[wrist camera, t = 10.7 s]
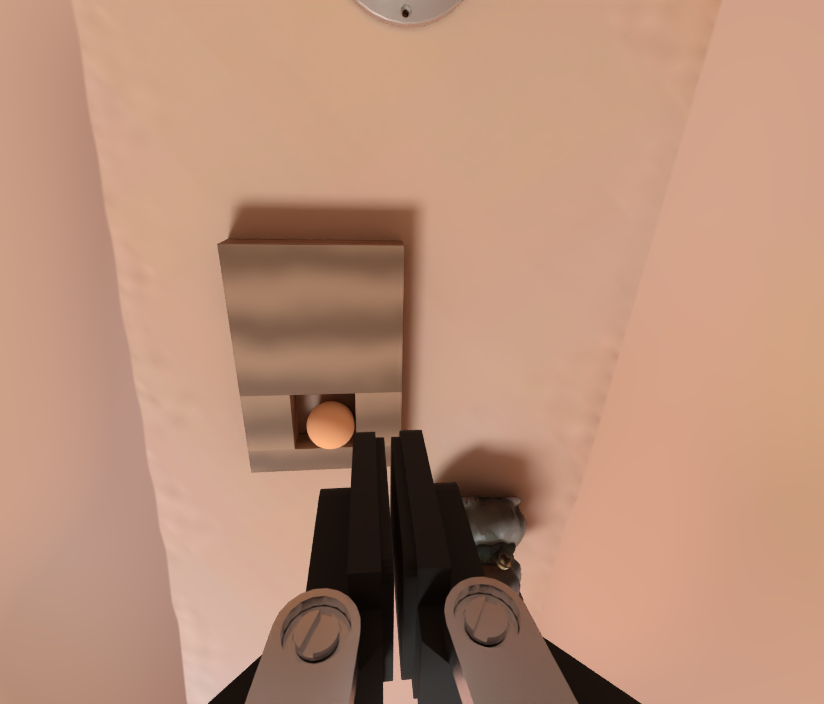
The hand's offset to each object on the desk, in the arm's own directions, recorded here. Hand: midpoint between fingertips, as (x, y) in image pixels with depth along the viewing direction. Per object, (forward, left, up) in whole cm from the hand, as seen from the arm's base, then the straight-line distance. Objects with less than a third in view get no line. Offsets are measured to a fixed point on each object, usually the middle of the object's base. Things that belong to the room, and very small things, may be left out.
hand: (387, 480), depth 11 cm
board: (+11, -5, -33) cm, 35 cm away
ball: (+18, -4, -31) cm, 36 cm away
